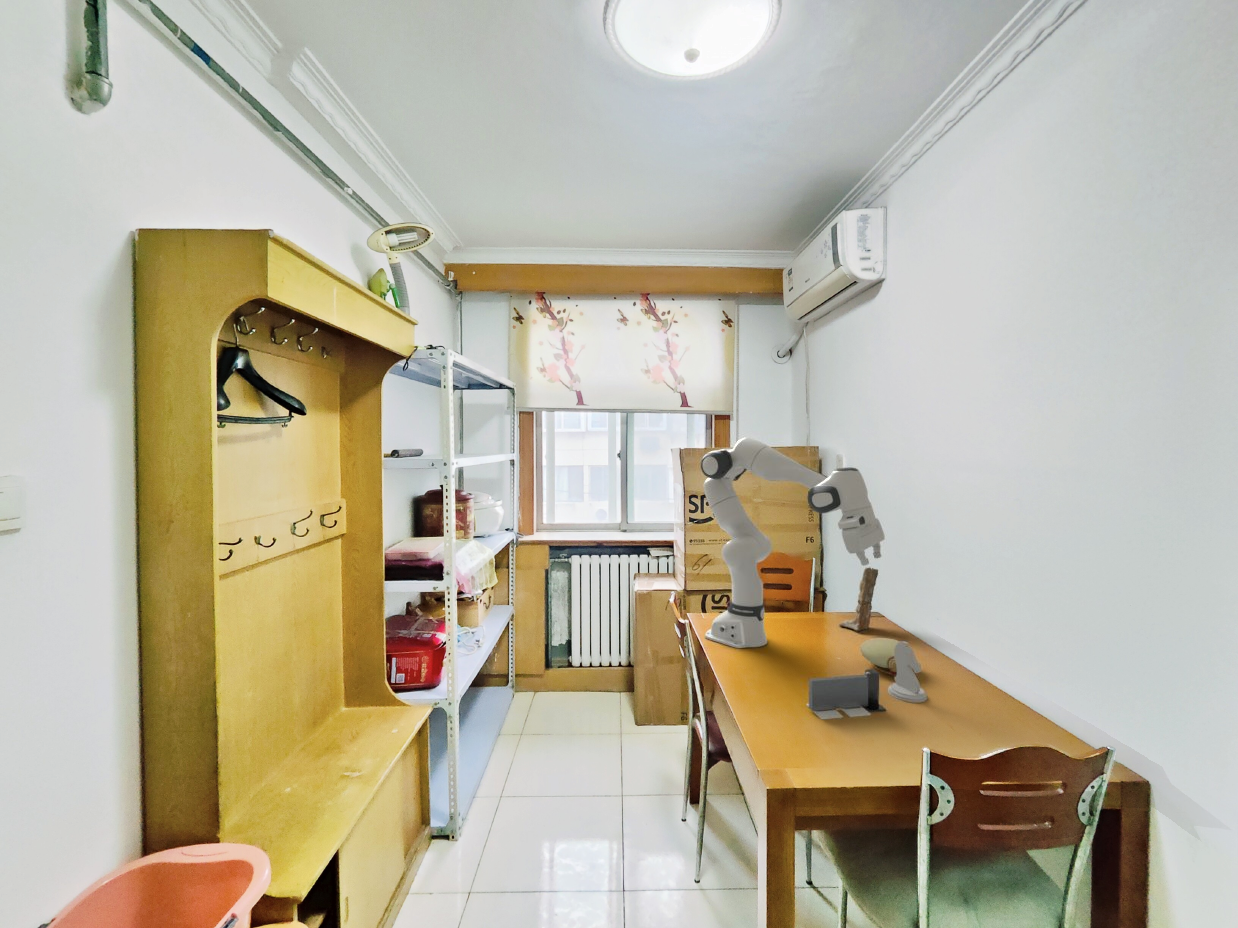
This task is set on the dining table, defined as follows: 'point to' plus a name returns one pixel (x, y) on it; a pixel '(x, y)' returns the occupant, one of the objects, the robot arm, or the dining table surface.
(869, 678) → the grey panel stand
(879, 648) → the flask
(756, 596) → the robot arm
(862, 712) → the label plate
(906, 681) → the chess piece
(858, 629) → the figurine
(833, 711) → the label plate
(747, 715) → the dining table surface
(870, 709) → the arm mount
